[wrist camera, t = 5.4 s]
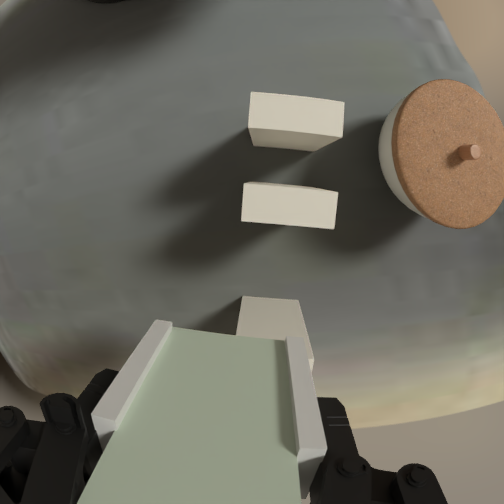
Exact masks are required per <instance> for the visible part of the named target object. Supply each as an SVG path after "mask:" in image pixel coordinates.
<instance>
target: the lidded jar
mask: <svg viewBox="0 0 504 504" xmlns="http://www.w3.org/2000/svg"><path fill="white" fill-rule="evenodd" d="M378 150H379V160H380V166H381V169H382V172H383V175H384V178H385V180H386V182H387V184H388V186H389V187H390V189H391V190H392V192H393V193H394V194H395V195H396V196H397V198H398V199H399V200H400V201H401V202H402V203H403V204H405V205H406V206H407V207H408V208H409V209H411V210H413V211H414V212H416V213H418V214H419V215H421V216H423V217H425V218H428V219H430V220H432V221H433V222H435V223H438V224H440V225H443V226H446V227H450V228H455V229H466V228H470V227H474V226H476V225H479V224H481V223H482V222H484V221H485V220H487V219H488V218H489V217H490V216H491V215H492V214H493V213H494V212H495V211H496V210H497V208H498V207H499V205H500V204H501V202H502V200H503V198H504V128H503V125H502V123H501V121H500V119H499V117H498V115H497V113H496V112H495V110H494V109H493V108H492V106H491V105H490V104H489V103H488V102H487V100H486V99H485V98H484V97H483V96H482V95H480V94H479V93H478V92H477V91H475V90H474V89H472V88H471V87H469V86H467V85H465V84H463V83H461V82H458V81H454V80H449V79H439V80H433V81H430V82H427V83H425V84H423V85H421V86H419V87H418V88H416V89H415V90H414V91H412V92H411V93H410V94H408V95H407V96H406V97H404V98H403V99H401V100H400V101H399V102H398V103H397V104H396V105H395V107H394V108H393V109H392V110H391V111H390V113H389V115H388V116H387V118H386V119H385V121H384V124H383V126H382V129H381V132H380V137H379V146H378Z"/></svg>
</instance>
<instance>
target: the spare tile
mask: <svg viewBox="0 0 504 504" xmlns="http://www.w3.org/2000/svg"><path fill="white" fill-rule="evenodd" d="M77 504H301V493H300V482H299V471H298V461H297V454H296V444H295V433H294V424H293V414H292V404H291V395H290V386H289V376H288V367H287V359H286V350H285V341H284V340H274V339H264V338H255V337H245V336H237V335H228V334H220V333H213V332H205V331H198V330H191V329H184V328H178V327H172V331H171V333H170V334H169V336H168V338H167V340H166V342H165V343H164V345H163V347H162V349H161V350H160V352H159V354H158V356H157V358H156V359H155V361H154V363H153V365H152V367H151V368H150V370H149V372H148V374H147V376H146V378H145V379H144V381H143V383H142V385H141V387H140V389H139V390H138V392H137V394H136V396H135V398H134V400H133V401H132V403H131V405H130V407H129V409H128V411H127V413H126V414H125V416H124V418H123V420H122V422H121V424H120V426H119V428H118V429H117V430H115V431H114V433H113V435H112V437H111V439H110V440H109V442H108V444H107V446H106V448H105V450H104V452H103V454H102V456H101V457H100V459H99V461H98V463H97V465H96V467H95V469H94V471H93V473H92V475H91V477H90V479H89V481H88V483H87V485H86V487H85V488H84V490H83V492H82V494H81V496H80V498H79V500H78V502H77Z"/></svg>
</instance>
